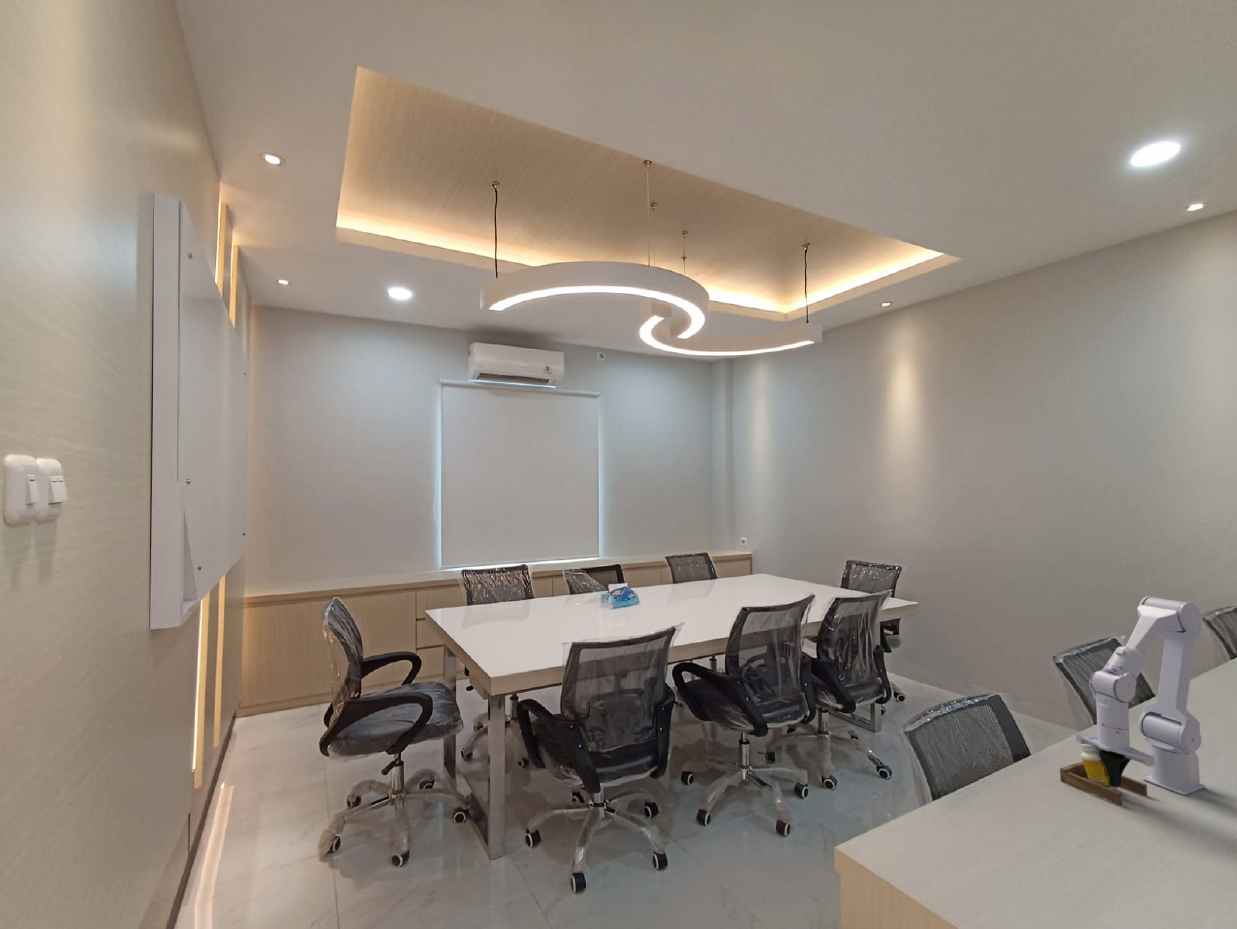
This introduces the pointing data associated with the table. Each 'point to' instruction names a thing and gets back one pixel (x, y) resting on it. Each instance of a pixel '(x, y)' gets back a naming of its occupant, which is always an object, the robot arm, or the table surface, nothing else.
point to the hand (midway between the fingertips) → (1114, 785)
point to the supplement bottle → (1095, 765)
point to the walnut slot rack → (1077, 771)
